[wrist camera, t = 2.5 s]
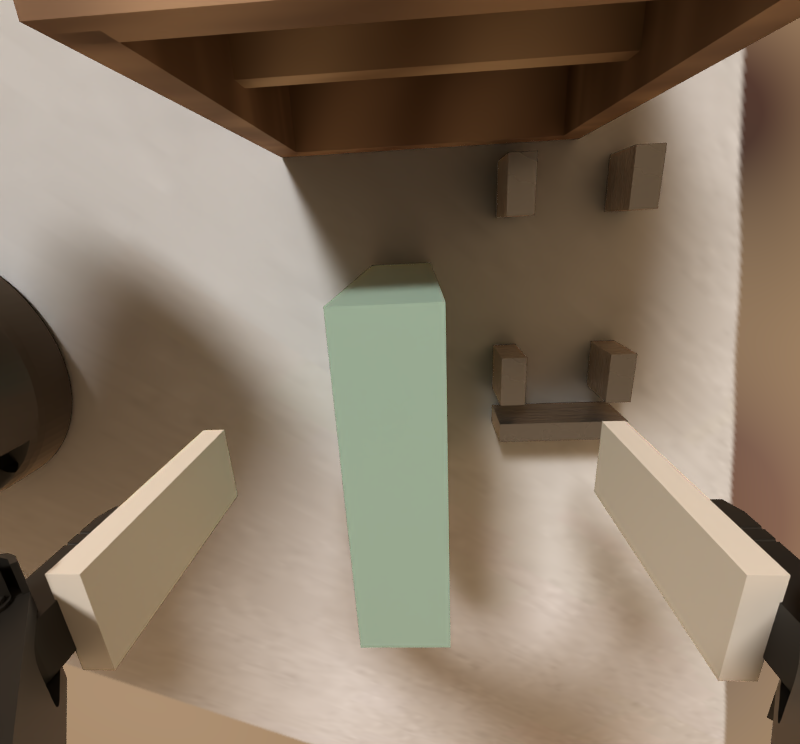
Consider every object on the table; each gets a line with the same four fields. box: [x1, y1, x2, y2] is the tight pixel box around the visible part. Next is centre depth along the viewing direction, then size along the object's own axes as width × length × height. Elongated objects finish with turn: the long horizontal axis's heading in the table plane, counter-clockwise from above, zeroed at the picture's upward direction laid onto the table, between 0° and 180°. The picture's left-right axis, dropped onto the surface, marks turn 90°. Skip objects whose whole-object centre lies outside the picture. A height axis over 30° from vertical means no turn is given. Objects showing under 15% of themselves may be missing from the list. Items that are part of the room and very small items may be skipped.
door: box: [323, 263, 450, 648], centre depth 18 cm, size 3×12×12 cm, turn 3°
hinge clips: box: [491, 143, 667, 442], centre depth 21 cm, size 6×14×2 cm, turn 3°
